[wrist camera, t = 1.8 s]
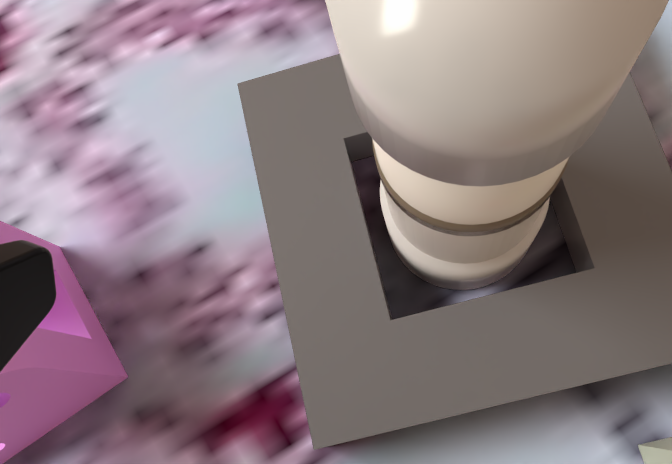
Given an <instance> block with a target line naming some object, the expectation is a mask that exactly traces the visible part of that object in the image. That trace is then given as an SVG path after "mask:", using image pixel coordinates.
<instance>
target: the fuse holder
mask: <svg viewBox="0 0 672 464" xmlns="http://www.w3.org/2000/svg"><path fill="white" fill-rule="evenodd" d="M238 89H239V93H240V98H241V103H242V108H243V113H244V117H245V122H246V127H247V132H248V137H249V141H250V146H251V151H252V156H253V161H254V165H255V170H256V175H257V180H258V184H259V189H260V194H261V199H262V204H263V208H264V213H265V218H266V223H267V228H268V232H269V237H270V242H271V247H272V252H273V256H274V261H275V266H276V271H277V276H278V280H279V285H280V290H281V295H282V299H283V304H284V309H285V314H286V319H287V323H288V328H289V333H290V338H291V343H292V347H293V352H294V357H295V362H296V367H297V371H298V376H299V381H300V386H301V391H302V395H303V400H304V405H305V410H306V415H307V419H308V424H309V429H310V434H311V438H312V443H313V448H314V450H315V449H319V448H323V447H328V446H332V445H336V444H340V443H344V442H348V441H352V440H357V439H361V438H365V437H369V436H373V435H377V434H381V433H386V432H390V431H394V430H398V429H402V428H406V427H411V426H415V425H419V424H423V423H427V422H431V421H435V420H440V419H444V418H448V417H452V416H456V415H460V414H464V413H469V412H473V411H477V410H481V409H485V408H489V407H493V406H498V405H502V404H506V403H510V402H514V401H518V400H522V399H527V398H531V397H535V396H539V395H543V394H547V393H552V392H556V391H560V390H564V389H568V388H572V387H576V386H581V385H585V384H589V383H593V382H597V381H601V380H605V379H610V378H614V377H618V376H622V375H626V374H630V373H634V372H639V371H643V370H647V369H651V368H655V367H659V366H663V365H668V364H672V171H671V168H670V166H669V164H668V161H667V159H666V157H665V154H664V152H663V150H662V147H661V145H660V142H659V140H658V138H657V135H656V133H655V131H654V128H653V126H652V124H651V121H650V119H649V116H648V114H647V112H646V109H645V107H644V105H643V102H642V100H641V98H640V95H639V93H638V90H637V88H636V86H635V83H634V81H633V79H632V76H631V74H630V72H629V74H628V76H627V77H626V79H625V81H624V83H623V84H622V86H621V88H620V90H619V91H618V93H617V95H616V97H615V98H614V100H613V102H612V104H611V105H610V107H609V109H608V111H607V112H606V114H605V116H604V118H603V119H602V121H601V122H600V124H599V125H598V127H597V128H596V130H595V131H594V133H593V134H592V135H591V136H590V137H589V138H588V140H587V141H586V142H585V143H584V144H583V145H582V146H581V147H580V148H579V149H578V150H576V151H575V152H574V153H573V154H572V155H571V156H570V157H569V160H568V164H567V166H566V168H565V171H564V173H563V175H562V177H561V179H560V181H559V182H558V184H557V186H556V188H555V190H554V191H553V193H552V194H551V196H550V199H551V202H552V205H553V208H554V210H555V213H556V216H557V219H558V222H559V224H560V227H561V230H562V233H563V236H564V239H565V241H566V244H567V247H568V250H569V253H570V255H571V258H572V261H573V264H574V267H575V270H576V272H577V273H574V274H570V275H566V276H562V277H558V278H554V279H550V280H546V281H542V282H538V283H534V284H531V285H527V286H523V287H519V288H515V289H511V290H507V291H503V292H499V293H495V294H491V295H487V296H483V297H480V298H476V299H472V300H468V301H464V302H460V303H456V304H452V305H448V306H444V307H440V308H436V309H433V310H429V311H425V312H421V313H417V314H413V315H409V316H405V317H401V318H397V319H393V320H392V316H391V313H390V309H389V305H388V301H387V297H386V293H385V289H384V286H383V282H382V278H381V274H380V270H379V266H378V262H377V258H376V255H375V251H374V247H373V243H372V239H371V235H370V231H369V228H368V224H367V220H366V216H365V212H364V208H363V204H362V201H361V197H360V193H359V189H358V185H357V181H356V177H355V174H354V170H353V166H352V161H355V160H359V159H363V158H366V157H370V156H374V152H373V144H372V137H371V136H370V134H369V133H368V132H367V130H366V129H365V127H364V126H363V124H362V122H361V120H360V118H359V116H358V114H357V112H356V109H355V106H354V103H353V101H352V97H351V94H350V90H349V86H348V83H347V79H346V75H345V72H344V68H343V64H342V61H341V57H340V54H338V55H334V56H331V57H327V58H324V59H320V60H317V61H314V62H310V63H307V64H303V65H300V66H296V67H293V68H290V69H286V70H283V71H279V72H276V73H272V74H269V75H266V76H262V77H259V78H255V79H252V80H248V81H245V82H241V83H238Z"/></svg>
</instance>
